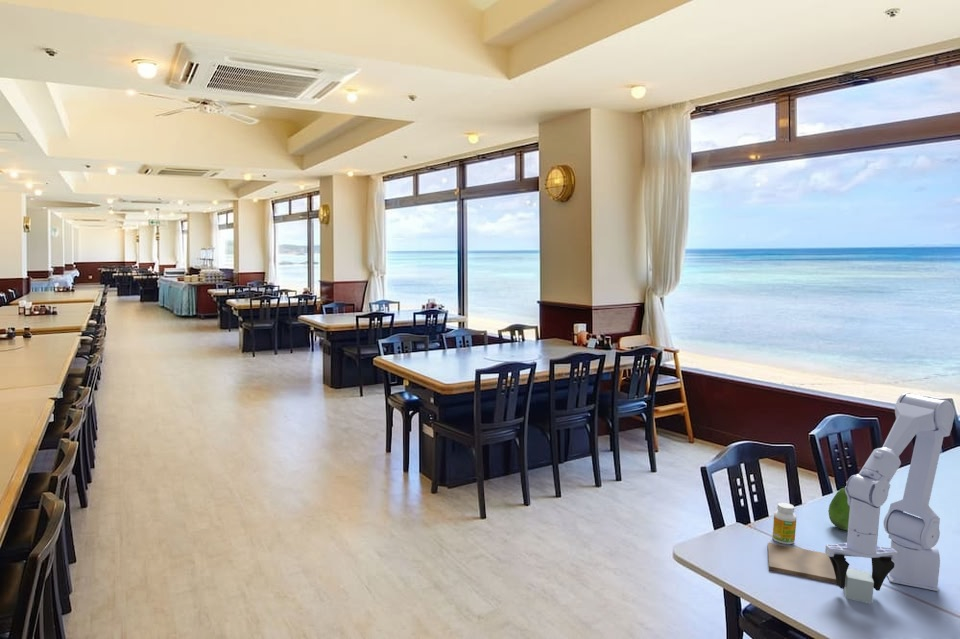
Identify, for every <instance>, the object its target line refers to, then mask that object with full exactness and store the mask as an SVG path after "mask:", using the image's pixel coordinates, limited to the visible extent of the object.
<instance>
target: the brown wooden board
mask: <svg viewBox="0 0 960 639" xmlns="http://www.w3.org/2000/svg"><path fill="white" fill-rule="evenodd" d="M767 559H768V571H771V572H777V573H782V574H787V575H792V576H797V577H802V578H807V579H813V580H817V581H822V582H827V583H833V584H836V585H837V583H836V576H835V572H834V568H833V565H832V563H831V560H830V558H829V556H828V555H827V554H826V553H825V552H821V551H820V552H819V551H815V550H811V549H810V550H809V549H804V548H801V547H793V546H787V545H784V544H778V543H777V544H776V543H773V542H772V543H771V542H767Z"/></svg>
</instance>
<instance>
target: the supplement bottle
mask: <svg viewBox="0 0 960 639" xmlns="http://www.w3.org/2000/svg"><path fill="white" fill-rule="evenodd" d="M776 509H777V510H775V511H774V514H773V525H772V526H773V527H772V528H773V529H772V540H774V541H775V542H777V543H779V544H781V545H791V544H792V545H793V544H795V541H796V531H797V530H796V528H797V515H796V514H795V513H794V512H795V506H794V505H793V504H791V503H786V502H778V504H777V508H776Z"/></svg>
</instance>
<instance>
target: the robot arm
mask: <svg viewBox="0 0 960 639" xmlns="http://www.w3.org/2000/svg"><path fill="white" fill-rule="evenodd" d="M896 400H897V401H896V404H895V406H894V414H895V421H894V422H893V425H892V427H891V429H890V431H889V433H888V435H887V437H886V439H885V440H884V443H883V445H882V447H877V448H875V449H873V450H872V452H871V453H870V455H869V457H868V458H867V460H866V461H865V463H864V465H863V466H862V468H861V469H860V471H859V472H858V473H856V474H853V475H851V476H850V477H849V478H848V479H847V482H846V486H845V487H844V488H845V493H846V495H847V498H848V501H847V503H848V505H849V506H850V511H849V523H848V530H847V538H846V542H844V543H843V542H841V543H834V544H825V550H824V553H826V554H827V555H828V556H829V558H830V560H831V563H832V565H833V568H834V572H835V576H836V583H837V584H836V583H835V584H836V585H837V586H838V587H839V589H841V590H843V589H844V587H845V579H846V573H847V569H848V568H849V567H850V563H849V562H848V561H847V558H846V557H857V558H866V559H867V558H868V559H871V570H872V571H871V576H872V579H873V581H874V587H873V590H875V591H876V592H877V591H880V590H881V588H882V585H883V583H884V581H885V579H886V578H888V580H889V582H890V583H894V584H899V585H904V586H909V587H915V588H918V589H919V588H920V589H925V590H928V591H929V590H931V591H935V592H938V591H939V587H938V586H939V579H940V578H939V575H940V567H941V558H940V552H939V549H938V547H937V546H936V545H937V544H938V542H939V539H940V533H941V532H940V522H941V519H940V517H939V515H938V514H936V512H935V511H934V510H933V509H932V508H931V506H930V501H931V496H932V492H933V487H934V486H933V485H934V483H935V477H936V473H937V468H938V464H939V459H940V454H941V451H942V446H943V441H944V438H946V437H949V436H951V431H952V428H953V425H954V424H953V423H954V419H955V414H956V412H955V408H954V407H953V405H952V403H951V402H950V401H949V400H946V399H937V398H933V397H927V396H924V395H923V396H922V395H917V394H912V393H910V392H903V393H902V394H901V395H900V396H899V397H898V398H897V399H896ZM913 438H915V442H914V447H913V449H912V450H913V452H912V456H911V461H910V466H909V470H908V473H907V478H906V483H905V486H904V487H905V488H904V492H903V497H902V498H901V499H899V500H896V501H893V502H891V503H890V505H889V508H888V510H887V512H886V514H885V516H884V518H883V528H884V531H885V533H886V534H888V539H890V540H891V541H890V547H887V546H880V545H879V546H878V539H879V538H878V536H879V528H880V527H879V526H880V525H879V524H880V515H881V507H882V506H883V505H884V504H885V503H886V501H887V499H888V497H889V491H890V488H891V484H890V483H891V481H892V480H893V478H894V476H895V475H896V473H897V472H898V469H899V468H900V466H901V464H902V462H901V460H900V455H901V454H902V453H903V452H904V450H905V449H906V448H907V446H908V445H909V444H910V443H911V441H912V440H913Z"/></svg>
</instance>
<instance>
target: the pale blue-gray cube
mask: <svg viewBox="0 0 960 639" xmlns="http://www.w3.org/2000/svg"><path fill="white" fill-rule="evenodd" d="M873 587H874V581H873V579H872V572H870V571H866V570H860V569H856V568H855V569H854V568H849V567H848V569H847V573H846V579H845V587H844V589H842V590H843V593H844V596H845V599H846V600H853V601H856V602H861V603H866V604H869V605H871V604H873V598H874V588H873Z"/></svg>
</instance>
